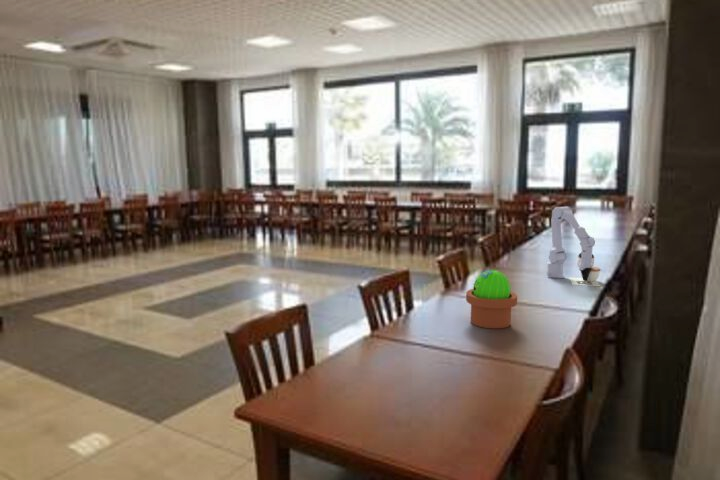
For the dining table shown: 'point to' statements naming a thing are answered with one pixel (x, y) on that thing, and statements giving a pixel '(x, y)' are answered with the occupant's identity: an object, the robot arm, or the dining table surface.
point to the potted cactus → (491, 300)
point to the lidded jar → (593, 274)
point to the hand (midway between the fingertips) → (585, 280)
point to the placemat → (583, 282)
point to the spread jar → (580, 259)
